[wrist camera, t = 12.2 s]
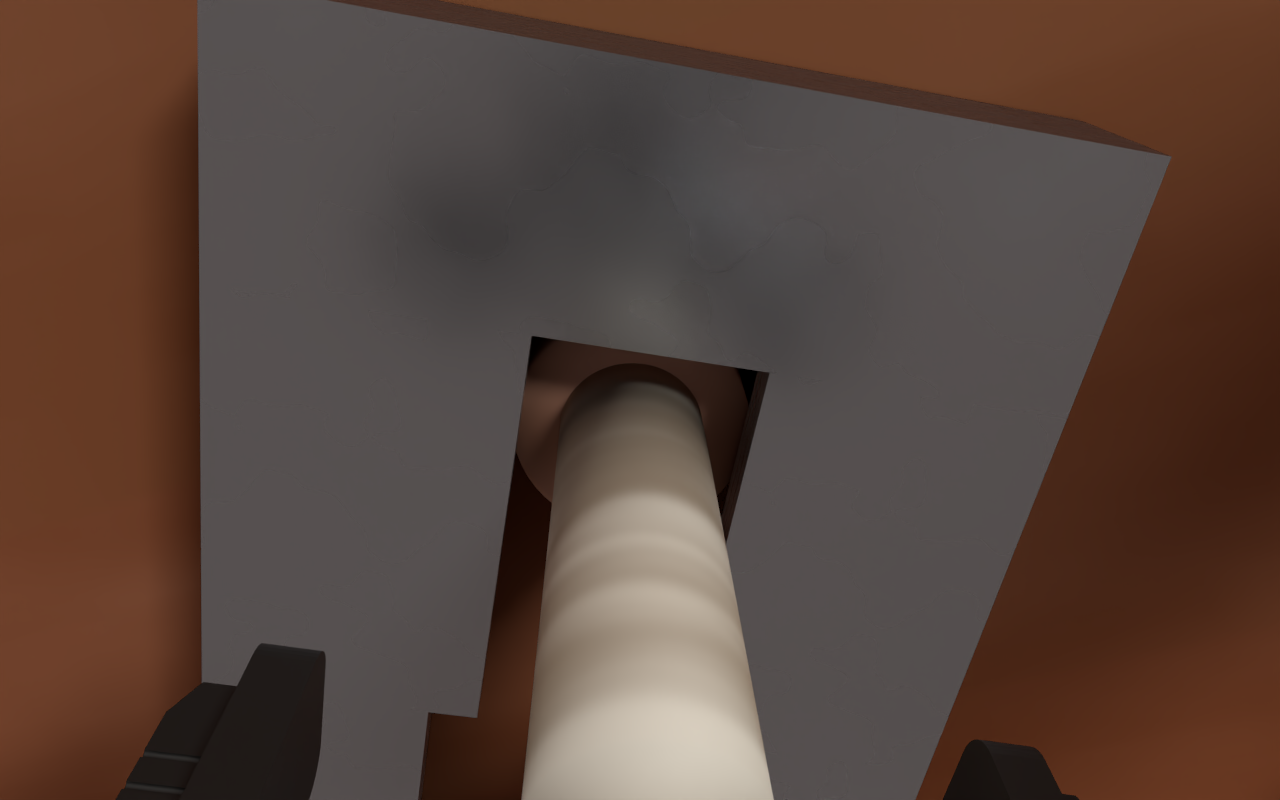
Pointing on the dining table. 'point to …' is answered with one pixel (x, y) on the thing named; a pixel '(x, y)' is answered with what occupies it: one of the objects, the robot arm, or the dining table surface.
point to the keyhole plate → (634, 321)
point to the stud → (637, 581)
